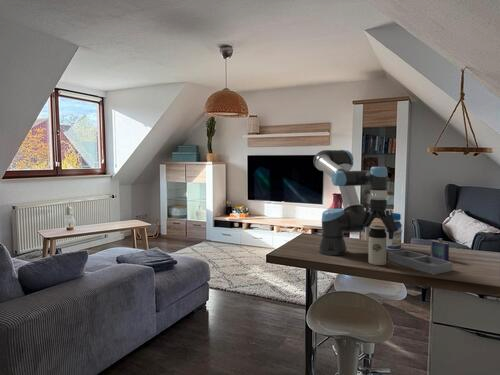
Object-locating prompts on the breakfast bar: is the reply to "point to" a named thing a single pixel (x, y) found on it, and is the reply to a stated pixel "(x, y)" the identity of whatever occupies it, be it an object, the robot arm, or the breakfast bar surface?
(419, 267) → the grey divided tray
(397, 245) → the beverage bottle
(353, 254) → the breakfast bar surface
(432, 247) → the flask
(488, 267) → the breakfast bar surface
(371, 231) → the travel mug
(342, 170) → the robot arm
